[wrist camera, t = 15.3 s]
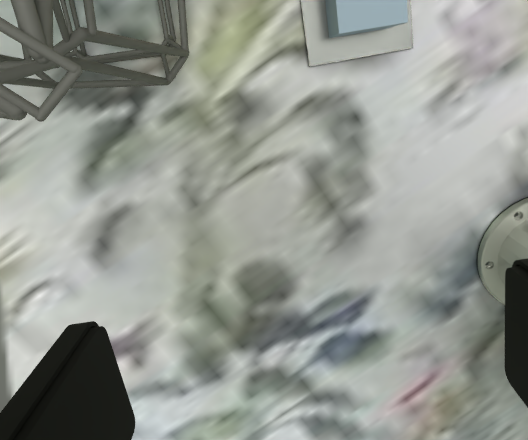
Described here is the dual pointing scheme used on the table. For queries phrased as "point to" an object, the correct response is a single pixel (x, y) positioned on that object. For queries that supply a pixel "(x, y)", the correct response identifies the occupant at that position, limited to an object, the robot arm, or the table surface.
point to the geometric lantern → (76, 54)
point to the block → (364, 15)
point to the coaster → (349, 37)
